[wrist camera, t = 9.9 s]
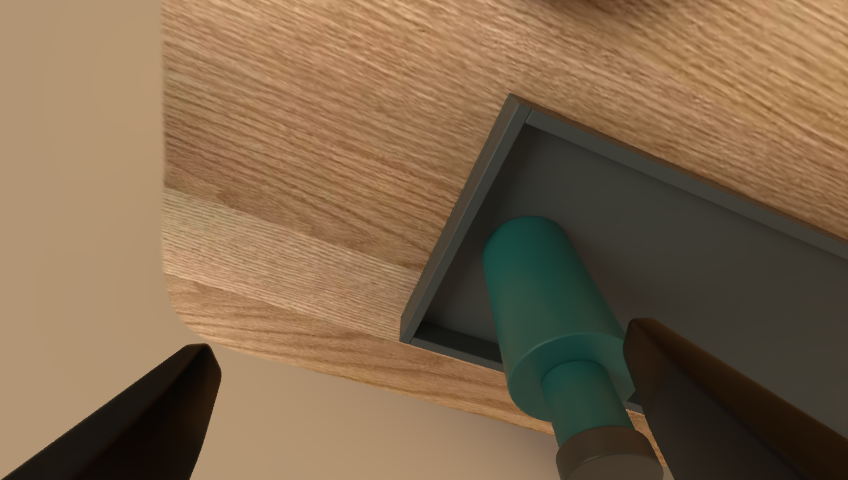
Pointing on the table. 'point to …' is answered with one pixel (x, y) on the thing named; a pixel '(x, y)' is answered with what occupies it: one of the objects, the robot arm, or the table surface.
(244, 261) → the table surface
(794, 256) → the tray
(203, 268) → the table surface
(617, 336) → the bottle
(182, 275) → the table surface
